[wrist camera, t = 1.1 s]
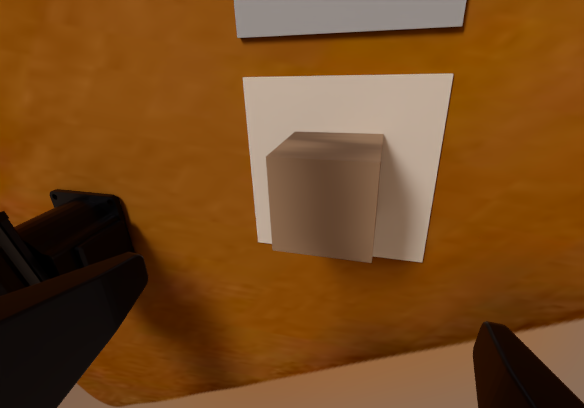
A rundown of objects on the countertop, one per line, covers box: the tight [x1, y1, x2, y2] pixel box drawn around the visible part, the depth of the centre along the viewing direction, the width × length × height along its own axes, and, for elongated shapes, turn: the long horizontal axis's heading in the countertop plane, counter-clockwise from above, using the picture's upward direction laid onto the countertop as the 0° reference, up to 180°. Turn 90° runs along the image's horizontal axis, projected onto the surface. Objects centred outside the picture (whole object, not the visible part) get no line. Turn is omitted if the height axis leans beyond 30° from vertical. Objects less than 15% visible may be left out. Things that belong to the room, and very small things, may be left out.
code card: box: [243, 74, 453, 262], centre depth 19 cm, size 11×11×1 cm
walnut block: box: [266, 132, 384, 263], centre depth 17 cm, size 5×5×5 cm
